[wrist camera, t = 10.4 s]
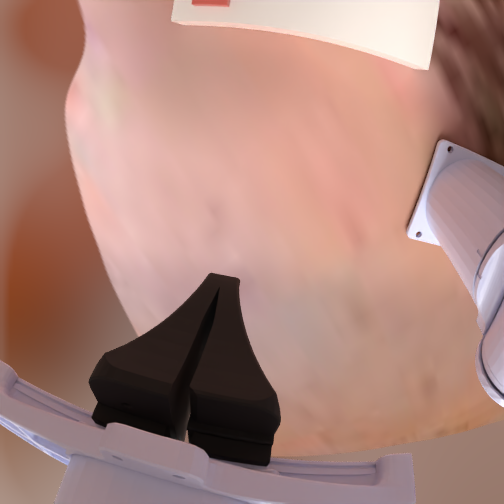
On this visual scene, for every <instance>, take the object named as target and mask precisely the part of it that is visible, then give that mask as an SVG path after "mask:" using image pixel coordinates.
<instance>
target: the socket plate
mask: <svg viewBox="0 0 504 504" xmlns="http://www.w3.org/2000/svg"><path fill="white" fill-rule="evenodd" d="M439 1H440V0H174V4H173V11H172V17H171V21H172V22H175V23H178V24H181V25H194V26H219V27H233V28H244V29H254V30H262V31H269V32H276V33H283V34H289V35H295V36H300V37H305V38H310V39H315V40H320V41H324V42H329V43H333V44H337V45H341V46H345V47H348V48H352V49H356V50H359V51H363V52H366V53H369V54H373V55H376V56H379V57H382V58H385V59H388V60H391V61H394V62H397V63H399V64H402V65H405V66H408V67H410V68H413V69H422V70H428V69H429V64H430V59H431V54H432V48H433V42H434V36H435V30H436V24H437V17H438V9H439Z"/></svg>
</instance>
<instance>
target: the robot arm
mask: <svg viewBox="0 0 504 504" xmlns="http://www.w3.org/2000/svg"><path fill="white" fill-rule="evenodd" d="M449 146H451V150H450V151H449V152H448V151H447V149H448V147H449ZM417 232H420V233H419V234H418V235H416V233H417ZM406 233H407V235H408V237H409V238H411V239H415V240H419V241H423V242H427V243H431V244H435V245H439V246H441V247H442V248H443V250H444V251H445V253H446V254H447V256H448V258H449V259H450V261H451V262H452V264H453V266H454V267H455V269H456V271H457V272H458V274H459V276H460V277H461V279H462V281H463V282H464V284H465V286H466V288H467V289H468V291H469V293H470V295H471V297H472V298H473V300H474V302H475V304H476V305H477V308H478V317H477V320H476V321H477V323H478V326H479V328H480V330H481V332H482V334H483V337H482V339H481V340H480V342H479V344H478V347H477V350H476V355H475V365H476V371H477V375H478V378H479V380H480V382H481V384H482V386H483V388H484V389H485V391H486V392H487V393H488V395H489V396H490V397H491V398H492V399H493V400H494V401H495V402H497V403H498V404H499V405H501V406H502V407H504V166H502V165H500V164H498V163H496V162H494V161H492V160H490V159H488V158H486V157H483V156H481V155H479V154H477V153H475V152H473V151H470V150H468V149H466V148H464V147H461V146H459V145H457V144H454V143H452V142H450V141H447V140H444V139H442V140H440V141H438V143H437V146H436V150H435V153H434V156H433V159H432V162H431V165H430V168H429V171H428V174H427V177H426V180H425V183H424V186H423V189H422V191H421V194H420V197H419V200H418V202H417V205H416V207H415V210H414V213H413V215H412V218H411V220H410V223H409V225H408V228H407V231H406ZM239 285H240V280H239V279H238V278H235V277H230V276H225V275H220V274H215V273H210V274H208V276H207V277H206V279H205V280H204V281H203V282H202V284H201V285H200V286H199V287H198V288H197V290H196V291H195V292H194V293H193V294H192V295H191V296H190V297H189V298H188V299H187V300H186V301H185V302H184V303H183V304H182V305H181V306H180V307H179V308H178V309H177V310H176V311H175V312H174V313H172V314H171V315H170V316H169V317H168V318H166V319H165V320H164V321H162V322H161V323H160V324H159V325H157V326H156V327H154V328H153V329H151V330H150V331H148V332H147V333H145V334H143V335H142V336H140V337H138V338H136V339H135V340H133V341H131V342H129V343H127V344H125V345H124V346H121V347H118V348H116V349H114V350H111V351H109V352H106V353H105V354H104V355H103V356H102V358H101V359H100V360H99V362H98V364H97V365H96V367H95V369H94V371H93V373H92V375H91V377H90V379H89V384H90V388H91V390H92V391H93V393H94V395H95V397H96V399H97V401H98V403H97V405H96V408H95V410H94V412H90V411H87V410H85V409H83V408H80V407H78V406H76V405H73V404H71V403H69V402H67V401H64V400H62V399H60V398H58V397H56V396H53V395H52V394H49V393H47V392H45V391H43V390H41V389H39V388H37V387H35V386H34V385H32V384H30V383H28V382H26V381H24V380H22V379H21V378H19V377H18V376H17V374H16V373H15V371H14V370H13V369H12V368H11V367H10V366H9V365H7V364H5V363H4V362H2V361H0V424H1V425H3V426H4V427H6V428H7V429H8V430H10V431H12V432H13V433H14V434H16V435H17V436H19V437H21V438H22V439H24V440H25V441H27V442H28V443H30V444H31V445H33V446H35V447H36V448H38V449H40V450H41V451H43V452H45V453H46V454H48V455H50V456H52V457H53V458H55V459H57V460H59V461H60V462H62V463H64V464H66V465H68V466H67V469H66V472H65V475H64V477H63V480H62V482H61V485H60V488H59V490H58V493H57V496H56V499H55V501H54V504H415V503H416V494H415V482H414V471H413V462H412V454H411V453H401V454H389V455H384V456H382V457H380V458H379V459H378V460H377V461H372V462H371V461H370V462H328V461H306V460H293V459H282V458H272V457H271V448H272V445H273V441H274V434H275V432H276V431H277V429H278V427H279V425H280V422H281V415H280V407H279V403H278V399H277V395H276V392H275V391H274V389H273V388H272V386H271V385H270V383H269V381H268V380H267V378H266V376H265V375H264V373H263V371H262V369H261V367H260V365H259V363H258V361H257V359H256V357H255V355H254V352H253V350H252V347H251V345H250V342H249V339H248V336H247V333H246V329H245V326H244V322H243V317H242V312H241V306H240V298H239ZM189 416H190V417H189ZM186 430H188V438H189V443H187V442H184V440H185V435H186Z"/></svg>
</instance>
